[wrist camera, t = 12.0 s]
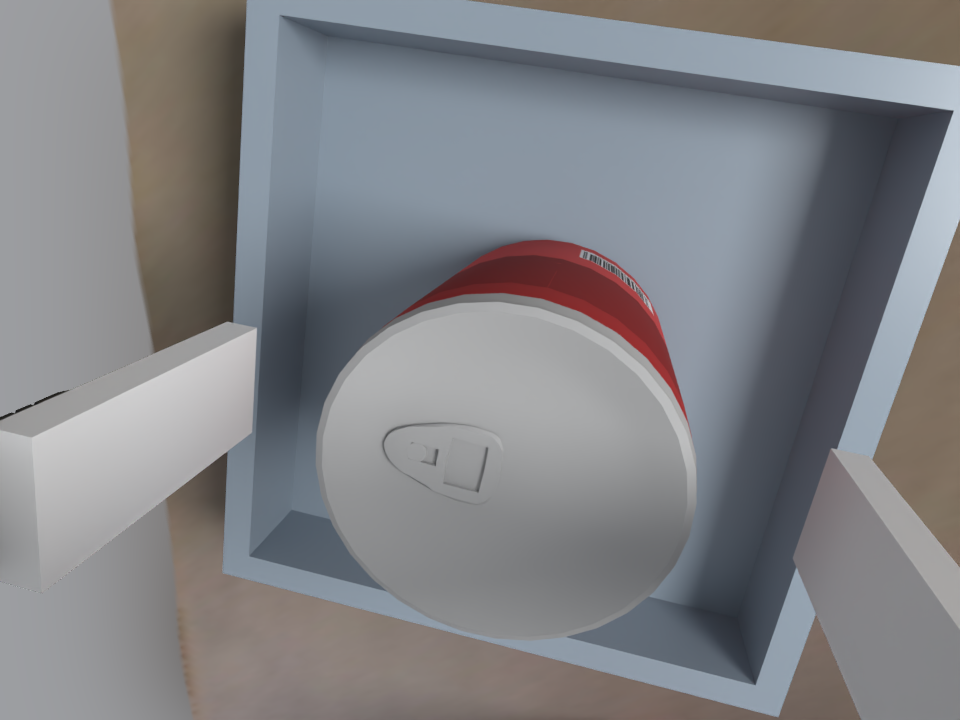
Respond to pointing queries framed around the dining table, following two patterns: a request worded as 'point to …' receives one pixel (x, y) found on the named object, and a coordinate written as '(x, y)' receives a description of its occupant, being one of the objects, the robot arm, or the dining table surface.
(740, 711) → the dining table surface
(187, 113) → the dining table surface
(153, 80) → the dining table surface
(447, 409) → the canned food
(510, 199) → the bin
